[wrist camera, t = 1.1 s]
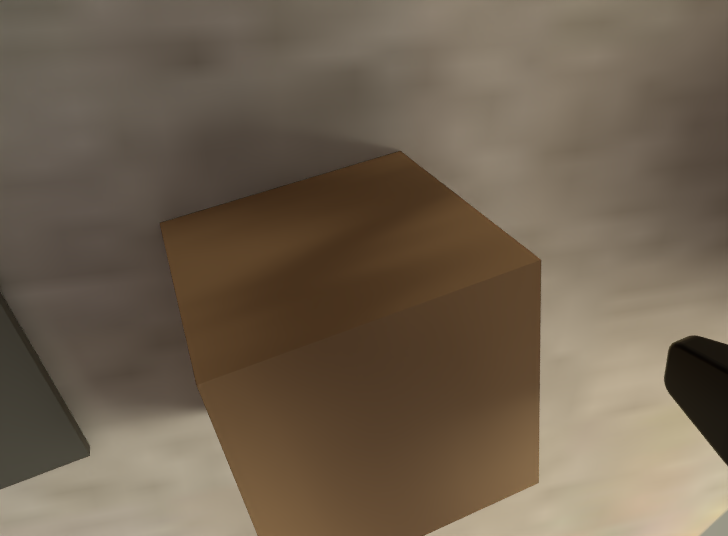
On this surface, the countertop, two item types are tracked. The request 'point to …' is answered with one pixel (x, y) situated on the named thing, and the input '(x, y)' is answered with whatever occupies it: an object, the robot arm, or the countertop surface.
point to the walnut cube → (362, 350)
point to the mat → (31, 411)
